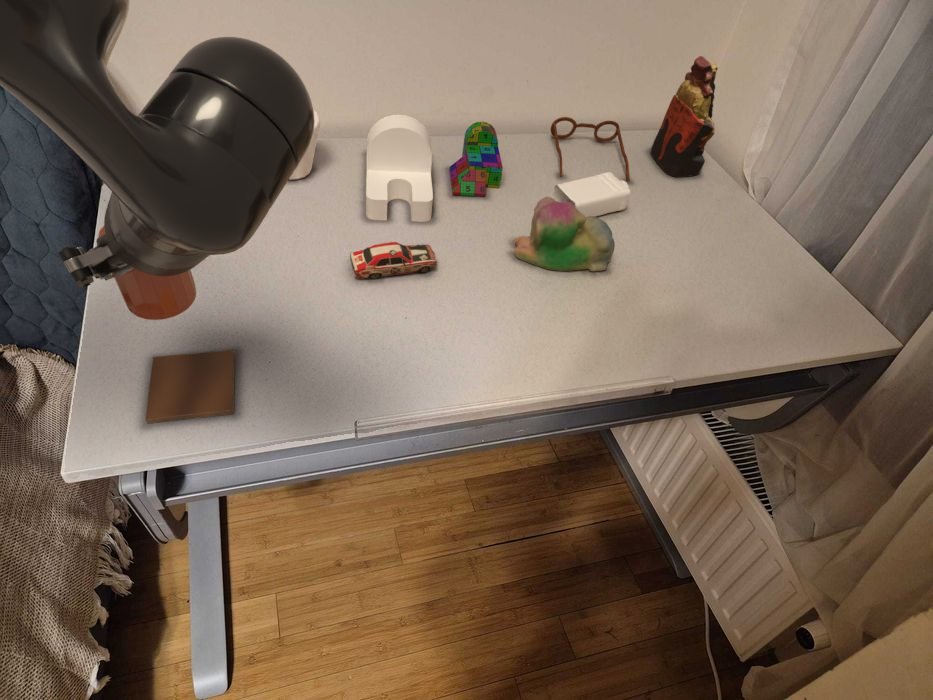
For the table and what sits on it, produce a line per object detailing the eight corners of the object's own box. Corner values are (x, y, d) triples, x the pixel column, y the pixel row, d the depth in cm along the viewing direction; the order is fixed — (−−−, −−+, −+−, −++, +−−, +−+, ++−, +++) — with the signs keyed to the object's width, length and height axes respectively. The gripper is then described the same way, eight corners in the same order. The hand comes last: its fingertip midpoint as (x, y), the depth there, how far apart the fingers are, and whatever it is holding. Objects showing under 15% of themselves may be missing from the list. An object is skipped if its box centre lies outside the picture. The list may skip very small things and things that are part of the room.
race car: (353, 266, 89) (346, 242, 86) (433, 252, 91) (430, 228, 87) (356, 290, 86) (350, 266, 83) (439, 275, 88) (436, 251, 84)
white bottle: (631, 210, 104) (640, 189, 101) (570, 226, 99) (577, 204, 96) (609, 188, 108) (616, 167, 105) (549, 203, 103) (555, 181, 100)
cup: (263, 152, 103) (255, 99, 96) (324, 154, 104) (320, 102, 97) (257, 187, 96) (248, 133, 89) (322, 189, 98) (318, 136, 91)
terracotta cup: (122, 322, 58) (93, 258, 52) (130, 276, 62) (103, 211, 56) (194, 317, 59) (174, 253, 53) (198, 272, 63) (179, 208, 57)
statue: (703, 178, 114) (754, 72, 99) (665, 179, 112) (711, 71, 97) (676, 143, 121) (719, 39, 106) (640, 143, 119) (678, 38, 104)
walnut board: (147, 423, 67) (145, 419, 66) (154, 361, 73) (152, 356, 72) (233, 414, 69) (232, 410, 69) (234, 353, 75) (233, 349, 74)
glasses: (613, 143, 118) (621, 119, 114) (629, 182, 110) (638, 158, 106) (547, 138, 117) (553, 113, 113) (558, 177, 108) (565, 152, 104)
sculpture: (593, 235, 98) (612, 183, 91) (614, 271, 93) (635, 218, 86) (508, 242, 95) (519, 188, 87) (524, 279, 90) (538, 225, 82)
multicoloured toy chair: (447, 155, 109) (451, 119, 103) (492, 157, 110) (498, 122, 105) (452, 195, 101) (457, 159, 96) (500, 197, 102) (507, 162, 97)
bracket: (431, 222, 96) (437, 157, 87) (366, 219, 94) (365, 154, 86) (425, 154, 108) (430, 92, 99) (367, 151, 106) (367, 88, 98)
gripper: (234, 137, 47) (193, 191, 61) (30, 201, 39) (36, 245, 53) (280, 229, 49) (230, 260, 62) (93, 306, 41) (83, 322, 55)
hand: (141, 253), depth 58 cm, fingers closed on terracotta cup, 6 cm apart
